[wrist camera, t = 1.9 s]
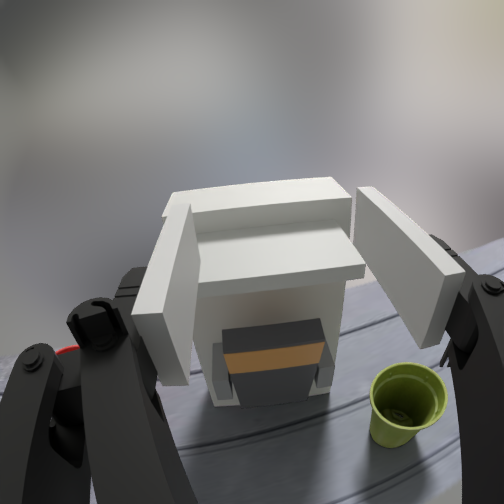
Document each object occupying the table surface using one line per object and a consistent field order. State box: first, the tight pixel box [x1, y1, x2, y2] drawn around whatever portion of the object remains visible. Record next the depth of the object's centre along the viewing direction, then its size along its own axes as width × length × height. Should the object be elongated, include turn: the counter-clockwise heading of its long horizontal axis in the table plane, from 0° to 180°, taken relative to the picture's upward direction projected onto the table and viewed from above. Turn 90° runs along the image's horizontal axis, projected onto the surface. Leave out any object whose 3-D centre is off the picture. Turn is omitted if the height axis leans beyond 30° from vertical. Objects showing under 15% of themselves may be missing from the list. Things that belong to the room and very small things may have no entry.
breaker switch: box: [222, 318, 325, 408], centre depth 30 cm, size 9×2×16 cm, turn 94°
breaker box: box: [162, 177, 366, 407], centre depth 32 cm, size 16×13×28 cm
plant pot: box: [370, 362, 448, 448], centre depth 31 cm, size 9×9×9 cm
